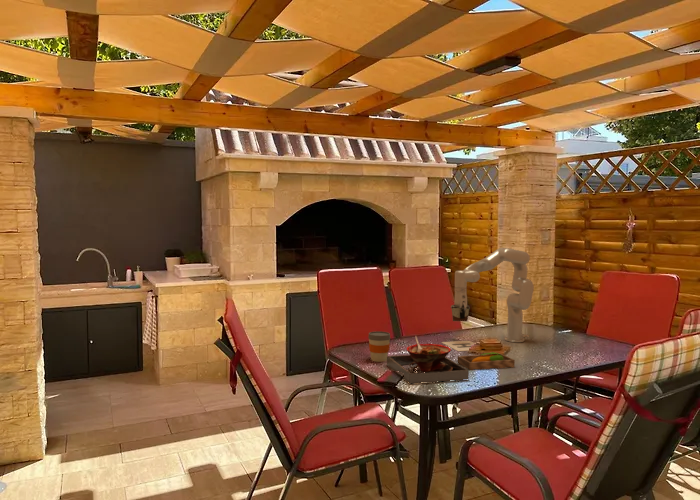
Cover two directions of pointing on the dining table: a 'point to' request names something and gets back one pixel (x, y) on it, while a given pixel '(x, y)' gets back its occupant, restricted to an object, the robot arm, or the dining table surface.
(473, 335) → the dining table surface
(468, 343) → the letter board
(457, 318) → the food container
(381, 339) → the reusable coffee cup
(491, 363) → the tray
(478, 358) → the corn
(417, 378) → the dark grey tray
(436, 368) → the stew
